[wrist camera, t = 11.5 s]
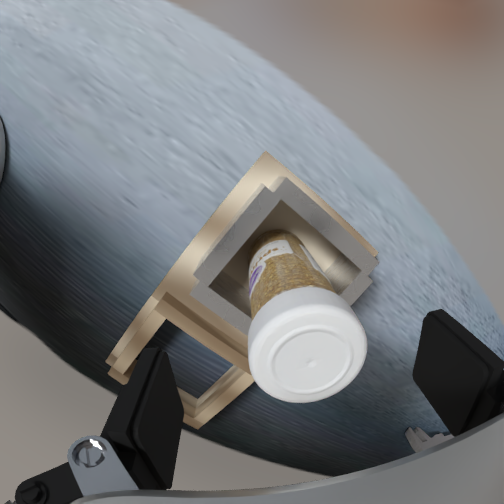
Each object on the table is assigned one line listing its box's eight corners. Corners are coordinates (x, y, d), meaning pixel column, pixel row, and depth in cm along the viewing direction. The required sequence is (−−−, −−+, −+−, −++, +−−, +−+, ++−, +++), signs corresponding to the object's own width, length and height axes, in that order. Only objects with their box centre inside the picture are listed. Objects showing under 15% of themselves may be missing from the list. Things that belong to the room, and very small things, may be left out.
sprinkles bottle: (250, 225, 23) (255, 302, 10) (310, 231, 23) (385, 309, 10) (244, 283, 24) (242, 406, 11) (302, 288, 24) (352, 406, 11)
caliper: (402, 430, 32) (418, 462, 26) (407, 425, 32) (424, 457, 26) (478, 429, 34) (494, 451, 28) (482, 424, 34) (498, 446, 28)
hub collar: (284, 333, 25) (291, 365, 21) (193, 266, 23) (181, 288, 19) (362, 250, 23) (384, 267, 19) (272, 170, 22) (278, 170, 17)
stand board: (205, 414, 29) (202, 434, 27) (110, 353, 27) (99, 370, 24) (371, 248, 25) (386, 257, 22) (264, 151, 23) (266, 149, 20)
